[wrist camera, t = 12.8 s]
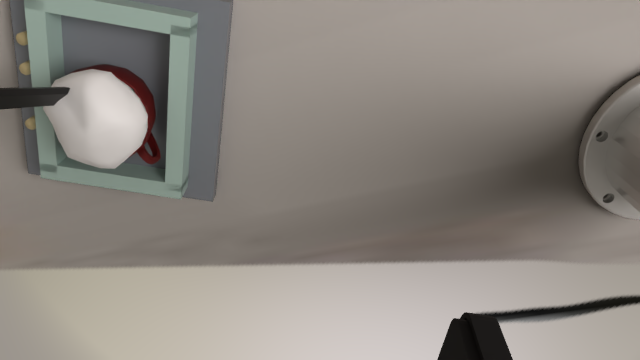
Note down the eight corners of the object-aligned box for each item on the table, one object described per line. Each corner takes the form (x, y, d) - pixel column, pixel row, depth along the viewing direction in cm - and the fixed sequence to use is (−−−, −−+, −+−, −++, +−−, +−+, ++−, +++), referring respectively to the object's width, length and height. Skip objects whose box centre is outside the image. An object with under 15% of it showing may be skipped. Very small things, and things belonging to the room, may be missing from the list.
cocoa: (184, 139, 36) (139, 234, 26) (105, 160, 37) (30, 261, 27) (127, 11, 32) (46, 63, 21) (39, 36, 32) (-83, 100, 22)
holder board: (233, -1, 33) (224, 7, 30) (215, 194, 39) (207, 214, 37) (16, -41, 32) (-15, -37, 29) (36, 166, 38) (13, 185, 36)
